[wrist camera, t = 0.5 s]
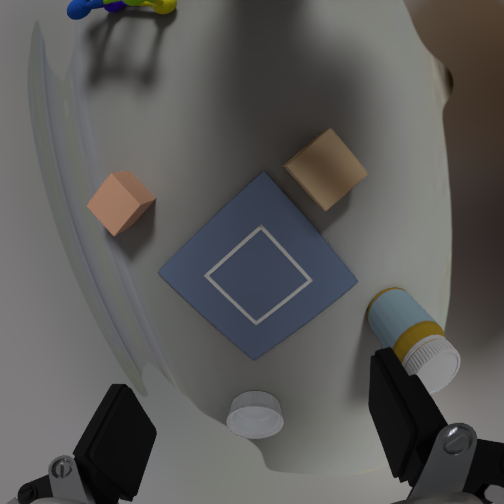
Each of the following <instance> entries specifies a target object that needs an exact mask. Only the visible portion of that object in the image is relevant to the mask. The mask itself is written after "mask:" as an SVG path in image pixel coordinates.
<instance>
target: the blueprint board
mask: <svg viewBox="0 0 504 504" xmlns="http://www.w3.org/2000/svg"><path fill="white" fill-rule="evenodd" d="M158 273H159V274H160V275H161V276H162V277H163V278H164V279H165V280H166V281H167V282H168V283H169V284H170V285H171V286H172V287H173V288H174V289H175V290H176V291H177V292H178V293H179V294H180V295H181V296H182V297H183V298H184V299H186V300H187V301H188V302H189V303H190V304H191V305H192V306H193V307H194V308H195V309H196V310H197V311H198V312H199V313H200V314H202V315H203V316H204V317H205V318H206V319H207V320H208V321H209V322H210V323H211V324H213V325H214V326H215V327H216V328H217V329H218V330H219V331H220V332H222V333H223V334H224V335H225V336H226V337H227V338H228V339H229V340H231V341H232V342H233V343H234V344H235V345H236V346H238V347H239V348H240V349H241V350H242V351H243V352H245V353H246V354H247V355H248V356H249V357H251V358H252V359H253V360H255V359H257V358H258V357H260V356H261V355H263V354H264V353H265V352H267V351H268V350H270V349H271V348H273V347H274V346H275V345H277V344H278V343H280V342H281V341H282V340H284V339H285V338H287V337H288V336H289V335H291V334H292V333H293V332H295V331H296V330H298V329H299V328H300V327H302V326H303V325H304V324H306V323H307V322H308V321H309V320H311V319H312V318H313V317H315V316H316V315H317V314H319V313H320V312H321V311H322V310H324V309H325V308H326V307H328V306H329V305H330V304H331V303H333V302H334V301H335V300H336V299H338V298H339V297H340V296H341V295H343V294H344V293H345V292H346V291H347V290H349V289H350V288H351V287H352V286H354V285H355V284H356V283H357V282H358V280H357V279H356V278H355V276H354V275H353V274H352V273H351V271H350V270H349V269H348V268H347V266H346V265H345V264H344V263H343V261H342V260H341V259H340V258H339V257H338V255H337V254H336V253H335V252H334V251H333V249H332V248H331V247H330V246H329V244H328V243H327V242H326V241H325V240H324V239H323V237H322V236H321V235H320V234H319V233H318V231H317V230H316V229H315V228H314V227H313V226H312V224H311V223H310V222H309V221H308V220H307V219H306V217H305V216H304V215H303V214H302V213H301V212H300V211H299V209H298V208H297V207H296V206H295V205H294V204H293V203H292V201H291V200H290V199H289V198H288V197H287V196H286V195H285V194H284V193H283V191H282V190H281V189H280V188H279V187H278V186H277V185H276V184H275V183H274V182H273V180H272V179H271V178H270V177H269V176H268V175H267V174H266V173H265V172H264V171H263V172H262V173H261V174H259V175H258V176H257V177H256V178H255V179H254V180H253V181H252V182H251V183H250V184H248V185H247V186H246V187H245V188H244V189H243V190H242V191H241V192H240V193H239V194H238V195H236V196H235V197H234V198H233V199H232V200H231V201H230V202H229V203H228V204H227V205H226V206H225V207H224V208H223V209H221V210H220V211H219V212H218V213H217V214H216V215H215V216H214V217H213V218H212V219H211V220H210V221H209V222H208V223H207V224H206V225H205V226H204V227H203V228H202V229H200V230H199V231H198V232H197V233H196V234H195V235H194V236H193V237H192V238H191V239H190V240H189V241H188V242H187V243H186V244H185V245H184V246H183V247H182V248H181V249H180V250H179V251H178V252H177V253H176V254H175V255H174V256H173V257H172V258H171V259H170V260H169V261H168V262H167V263H166V264H165V265H164V266H163V267H162V268H161V269H160V270H159V271H158Z"/></svg>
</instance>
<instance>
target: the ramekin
mask: <svg viewBox="0 0 504 504" xmlns="http://www.w3.org/2000/svg"><path fill="white" fill-rule="evenodd" d="M226 424H227V426H228V428H229V429H230V430H231V431H232V432H233V433H235V434H236V435H239V436H241V437H244V438H249V439H262V438H267V437H270V436H273V435H275V434H276V433H278V432H279V431H280V430H281V429H282V428H283V425H284V419H283V417H282V414H281V408H280V404H279V401H278V400H277V399H276V398H275V397H274V396H273V395H271V394H269V393H267V392H263V391H248V392H244V393H242V394H240V395H238V396H237V397H235V398H234V400H233V401H232V404H231V407H230V412H229V415H228V417H227V421H226Z"/></svg>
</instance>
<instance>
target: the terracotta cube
mask: <svg viewBox="0 0 504 504" xmlns="http://www.w3.org/2000/svg"><path fill="white" fill-rule="evenodd" d="M155 199H156V198H155V197H154V196H153V195H152V194H151V193H150V192H149V191H148V190H147V189H146V188H145V187H144V186H143V184H142V183H141V182H140V181H139V180H138V179H137V178H136V177H135V176H134V175H133V174H132V173H131V172H130V171H124V172H115V173H111V174H110V175H109V176H108V178H107V179H106V180H105V182H104V183H103V184H102V185H101V187H100V188H99V189H98V191H97V192H96V193H95V195H94V196H93V198H92V199H91V200H90V202H89V203H88V205H87V207H88V208H89V209H90V210H91V211H92V212H93V214H94V215H95V216H96V217H97V218H98V219H99V220H100V222H101V223H102V224H103V225H104V226H105V227H106V228H107V229H108V231H109V232H110V233H111V234H112V235H113V236H116V235H118V234H119V233H121V232H123V231H125V230H127V229H128V228H130V227H132V226H133V224H134V223H135V222H136V221H137V220H138V219H139V217H140V216H141V215H142V214H143V213H144V212H145V211H146V209H147V208H148V207H149V206H150V205H151V204H152V203H153V202H154V201H155Z"/></svg>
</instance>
